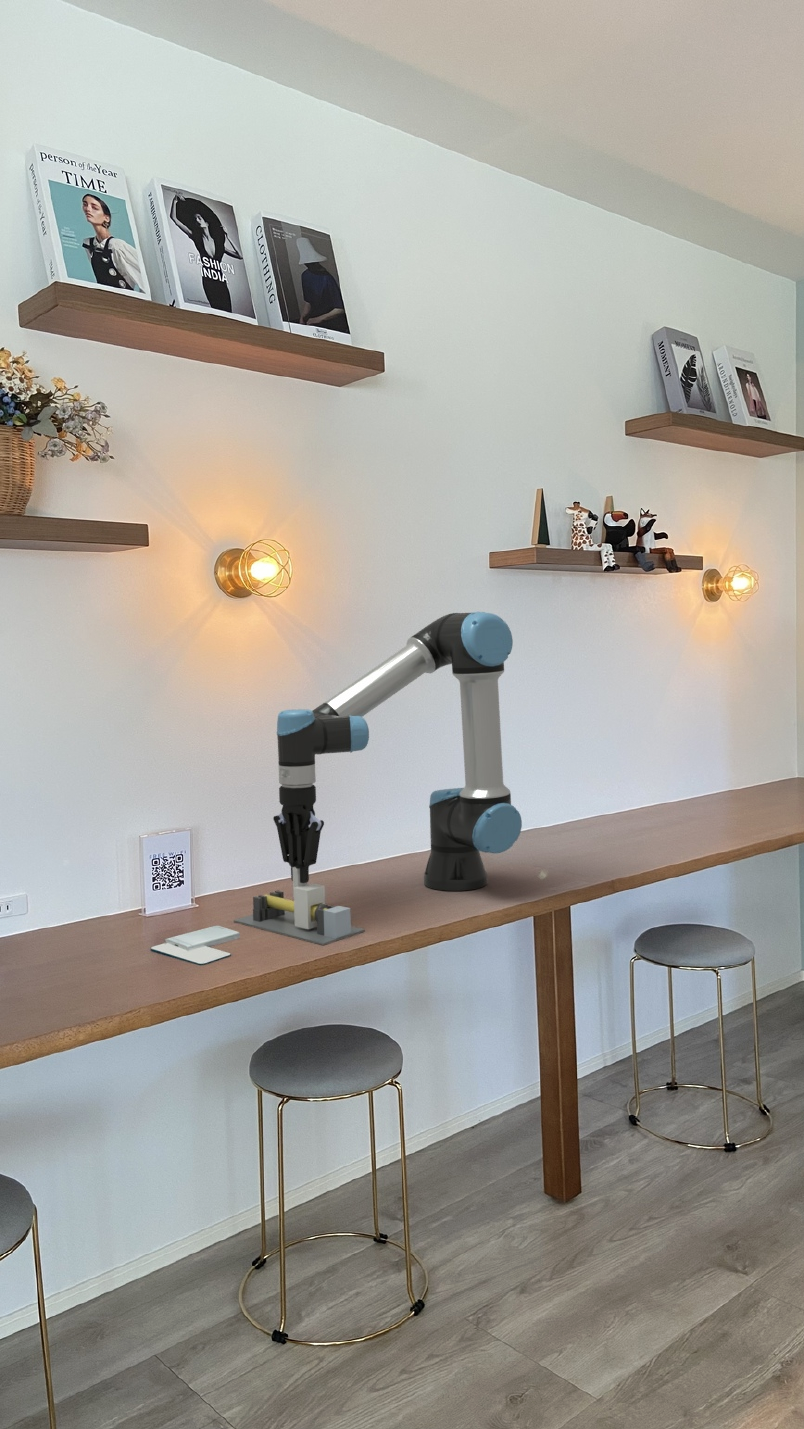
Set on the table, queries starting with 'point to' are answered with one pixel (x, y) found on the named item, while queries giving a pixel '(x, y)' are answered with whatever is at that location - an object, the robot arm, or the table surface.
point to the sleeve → (307, 904)
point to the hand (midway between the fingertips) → (300, 897)
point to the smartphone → (191, 953)
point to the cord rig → (280, 919)
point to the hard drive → (203, 938)
